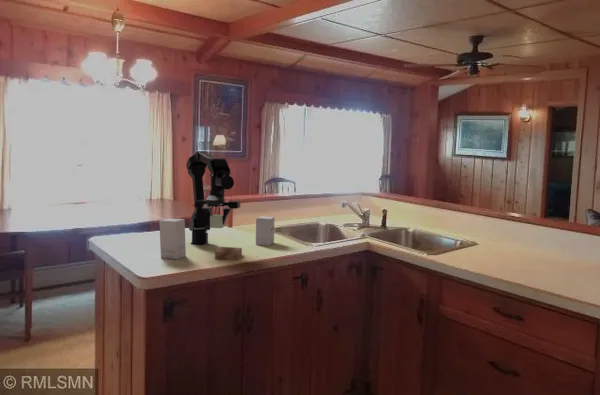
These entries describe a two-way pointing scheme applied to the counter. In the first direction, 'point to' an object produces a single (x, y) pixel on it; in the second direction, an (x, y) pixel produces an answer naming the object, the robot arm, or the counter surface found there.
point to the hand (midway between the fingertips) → (217, 224)
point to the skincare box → (172, 238)
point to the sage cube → (216, 221)
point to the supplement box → (265, 230)
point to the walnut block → (228, 253)
